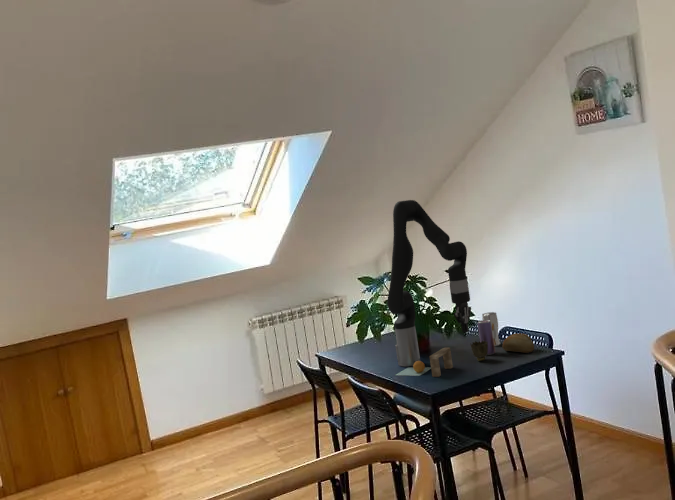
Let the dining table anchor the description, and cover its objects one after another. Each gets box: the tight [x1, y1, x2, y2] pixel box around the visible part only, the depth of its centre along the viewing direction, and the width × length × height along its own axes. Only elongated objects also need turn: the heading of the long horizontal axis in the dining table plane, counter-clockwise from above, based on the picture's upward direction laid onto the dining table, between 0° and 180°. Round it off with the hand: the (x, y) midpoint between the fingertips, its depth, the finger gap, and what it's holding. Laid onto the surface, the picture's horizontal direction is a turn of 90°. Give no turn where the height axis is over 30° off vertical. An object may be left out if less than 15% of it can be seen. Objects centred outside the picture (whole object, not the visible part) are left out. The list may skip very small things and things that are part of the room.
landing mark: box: [394, 366, 431, 377], centre depth 316 cm, size 12×12×1 cm
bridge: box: [428, 347, 454, 378], centre depth 308 cm, size 3×14×9 cm, turn 146°
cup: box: [469, 340, 488, 362], centre depth 317 cm, size 8×7×8 cm
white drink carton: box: [481, 311, 501, 347], centre depth 342 cm, size 7×7×15 cm
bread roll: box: [502, 332, 535, 354], centre depth 323 cm, size 10×15×8 cm, turn 46°
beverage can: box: [477, 319, 496, 356], centre depth 327 cm, size 6×6×15 cm
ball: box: [412, 360, 426, 373], centre depth 313 cm, size 5×5×5 cm
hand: (465, 331), depth 300 cm, fingers closed
